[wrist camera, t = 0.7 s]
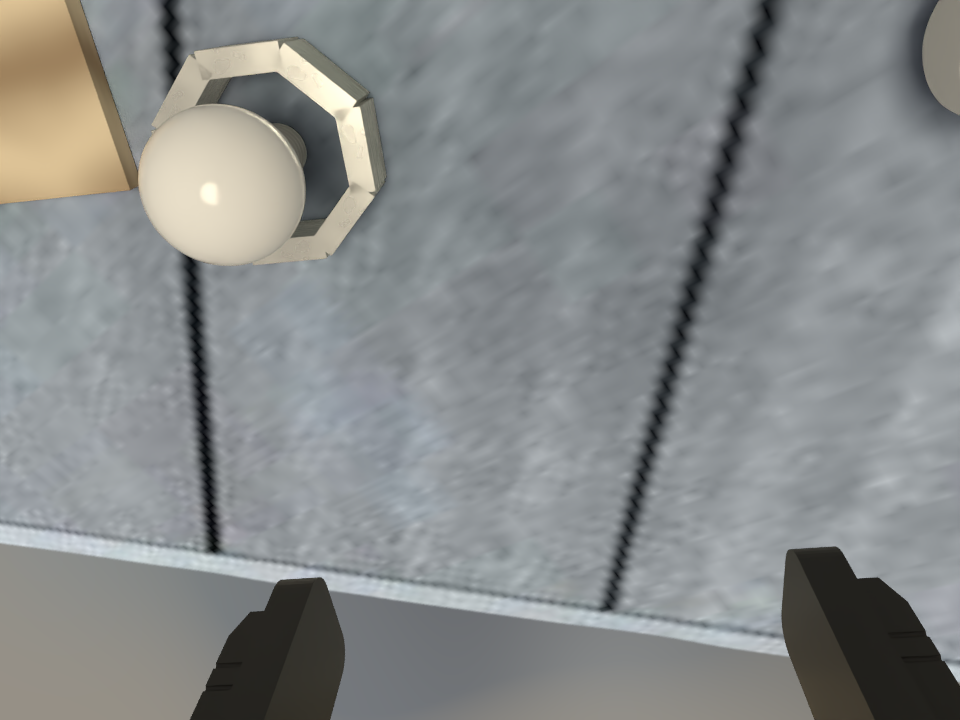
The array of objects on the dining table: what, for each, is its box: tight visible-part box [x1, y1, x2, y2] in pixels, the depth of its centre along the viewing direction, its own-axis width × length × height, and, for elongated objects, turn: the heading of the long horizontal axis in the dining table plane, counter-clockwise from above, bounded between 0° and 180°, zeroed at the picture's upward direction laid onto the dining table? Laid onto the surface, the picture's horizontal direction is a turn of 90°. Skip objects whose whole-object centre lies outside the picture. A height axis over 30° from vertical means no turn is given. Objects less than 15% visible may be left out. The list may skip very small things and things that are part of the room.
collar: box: [151, 37, 387, 265], centre depth 34 cm, size 10×10×3 cm
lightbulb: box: [138, 104, 307, 266], centre depth 30 cm, size 6×6×11 cm
